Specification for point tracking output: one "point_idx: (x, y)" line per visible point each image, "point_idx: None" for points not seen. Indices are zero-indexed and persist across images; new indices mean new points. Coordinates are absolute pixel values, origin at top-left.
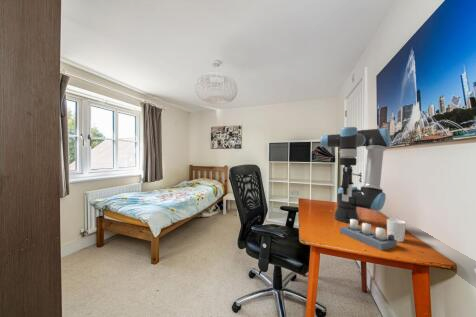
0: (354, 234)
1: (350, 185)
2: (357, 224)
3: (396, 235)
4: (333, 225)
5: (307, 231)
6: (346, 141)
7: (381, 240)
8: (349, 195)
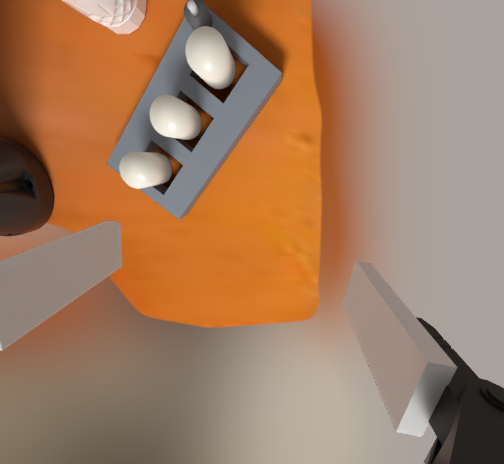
0: (215, 169)
1: (2, 289)
2: (152, 155)
3: None
4: None
5: (239, 312)
6: None
7: None
8: (113, 241)
